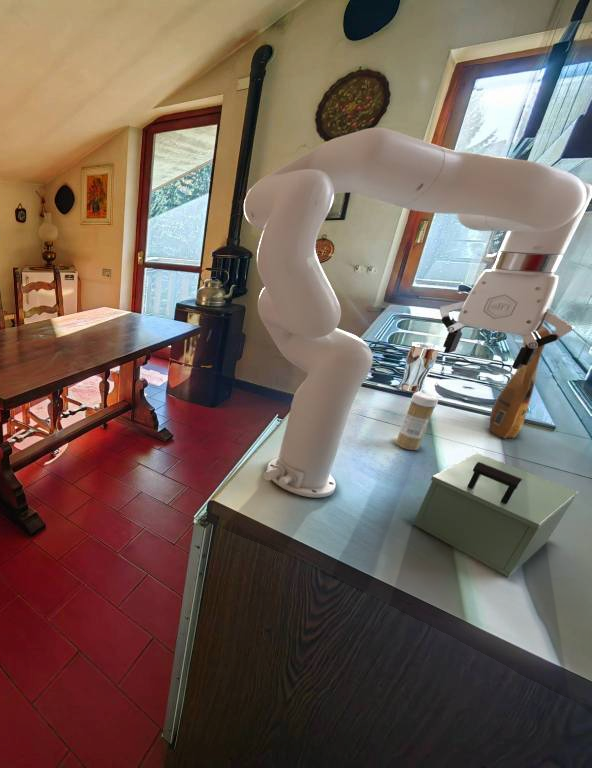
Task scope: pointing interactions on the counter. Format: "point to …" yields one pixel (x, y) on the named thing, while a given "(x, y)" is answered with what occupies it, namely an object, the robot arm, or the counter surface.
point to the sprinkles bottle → (416, 420)
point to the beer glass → (418, 366)
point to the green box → (482, 529)
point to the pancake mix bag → (516, 397)
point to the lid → (506, 489)
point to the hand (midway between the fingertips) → (481, 359)
